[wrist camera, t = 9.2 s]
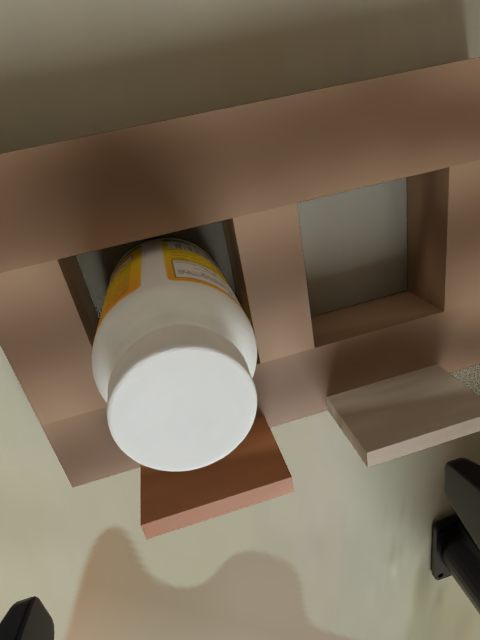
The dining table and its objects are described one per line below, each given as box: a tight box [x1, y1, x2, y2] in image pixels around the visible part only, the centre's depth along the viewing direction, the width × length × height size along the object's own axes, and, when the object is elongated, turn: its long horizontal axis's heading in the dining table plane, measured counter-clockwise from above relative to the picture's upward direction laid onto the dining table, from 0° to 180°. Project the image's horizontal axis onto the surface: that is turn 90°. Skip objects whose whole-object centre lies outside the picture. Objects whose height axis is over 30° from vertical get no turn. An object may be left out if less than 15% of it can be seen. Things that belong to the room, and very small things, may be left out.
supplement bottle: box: [92, 238, 257, 472], centre depth 15 cm, size 5×5×10 cm
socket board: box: [0, 57, 480, 539], centre depth 17 cm, size 14×22×7 cm, turn 101°
